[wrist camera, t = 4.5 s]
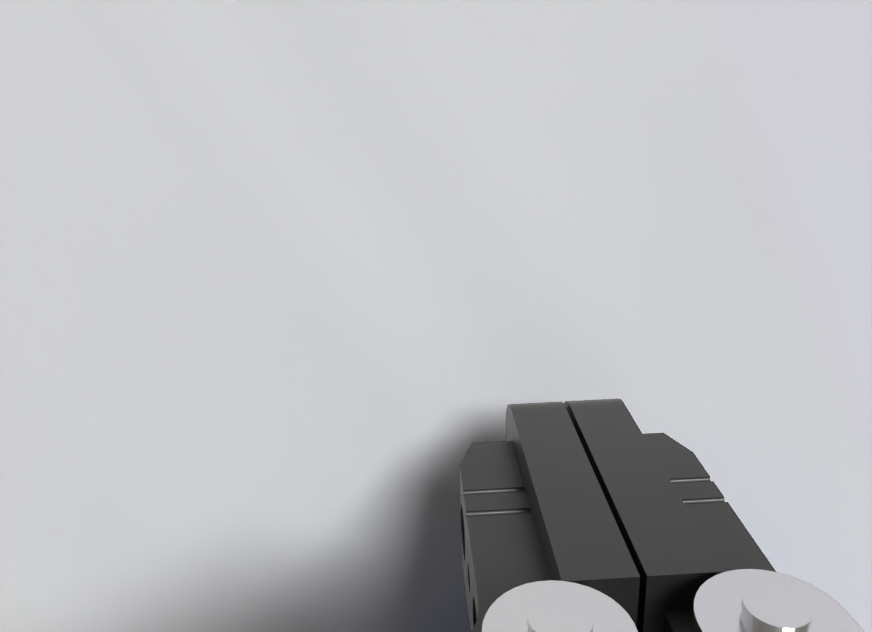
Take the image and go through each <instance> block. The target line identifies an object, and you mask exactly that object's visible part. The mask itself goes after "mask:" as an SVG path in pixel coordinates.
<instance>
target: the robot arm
mask: <svg viewBox="0 0 872 632" xmlns="http://www.w3.org/2000/svg"><path fill="white" fill-rule="evenodd" d="M460 504H461V542H462V566H463V574H464V583H465V591H466V600H467V608H468V615H469V625H470V632H865V631H864V630H863V629H862V628H861V627H860V625H859V624H858V623H857V622H856V621H855V620H854V619H853V617H852V616H851V615H850V614H849V613H848V612H847V611H846V610H845V609H844V608H843V607H842V606H841V605H840V604H839V603H838V602H837V601H836V600H834V599H833V598H832V597H831V596H829V595H828V594H827V593H825V592H823V591H822V590H820V589H818V588H817V587H815V586H813V585H811V584H809V583H807V582H805V581H803V580H800V579H797V578H795V577H792V576H789V575H785V574H782V573H778V572H776V571H775V570H774V568H773V567H772V565H771V564H770V562H769V561H768V560H767V558H766V557H765V555H764V554H763V552H762V551H761V550H760V548H759V547H758V545H757V544H756V542H755V541H754V539H753V538H752V537H751V535H750V534H749V532H748V531H747V529H746V528H745V526H744V525H743V524H742V522H741V521H740V519H739V518H738V516H737V515H736V513H735V512H734V511H733V509H732V508H731V506H730V505H729V503H728V502H725V501H724V496H723V495H722V493H721V492H720V490H719V489H718V488H717V486H716V485H715V483H714V482H713V481H712V482H711V481H710V476H709V475H708V473H707V472H706V470H705V469H704V467H703V466H702V464H701V463H700V462H699V460H698V459H697V457H696V456H695V454H694V453H693V452H692V451H690V450H689V449H687V448H686V447H684V446H683V445H681V444H680V443H678V442H676V441H675V440H673V439H672V438H670V437H669V436H667V435H666V434H664V433H651V434H642V433H641V431H640V429H639V428H638V426H637V424H636V423H635V421H634V419H633V418H632V416H631V414H630V413H629V411H628V409H627V408H626V406H625V404H624V403H623V401H622V400H621V399H603V400H583V401H566V402H564V403H563V402H548V403H528V404H508V406H507V411H506V441H502V442H483V443H472V445H471V446H470V448H469V450H468V451H467V453H466V455H465V457H464V458H463V460H462V462H461V463H460Z"/></svg>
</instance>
